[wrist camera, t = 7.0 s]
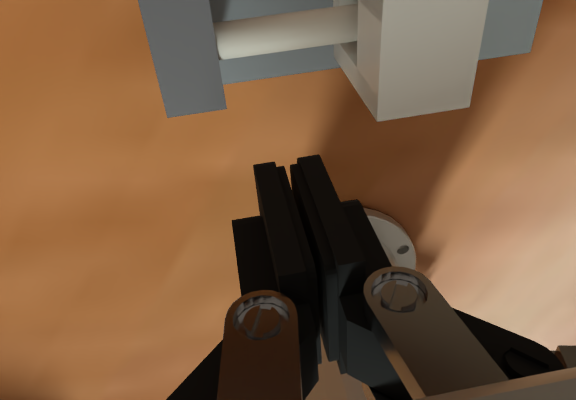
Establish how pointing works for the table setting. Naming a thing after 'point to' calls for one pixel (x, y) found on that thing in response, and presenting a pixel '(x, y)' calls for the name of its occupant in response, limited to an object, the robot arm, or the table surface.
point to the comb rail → (277, 42)
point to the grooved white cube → (413, 55)
